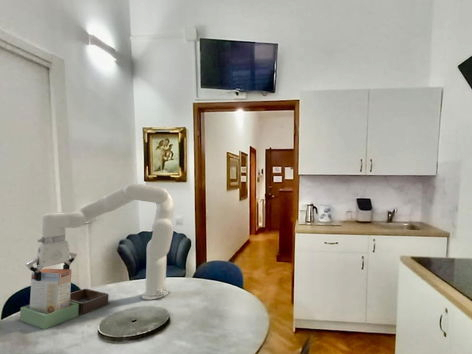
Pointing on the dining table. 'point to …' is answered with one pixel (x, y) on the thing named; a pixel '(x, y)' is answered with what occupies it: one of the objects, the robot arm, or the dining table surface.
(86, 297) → the crate
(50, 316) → the bin
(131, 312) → the dining table surface
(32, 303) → the cracker box
